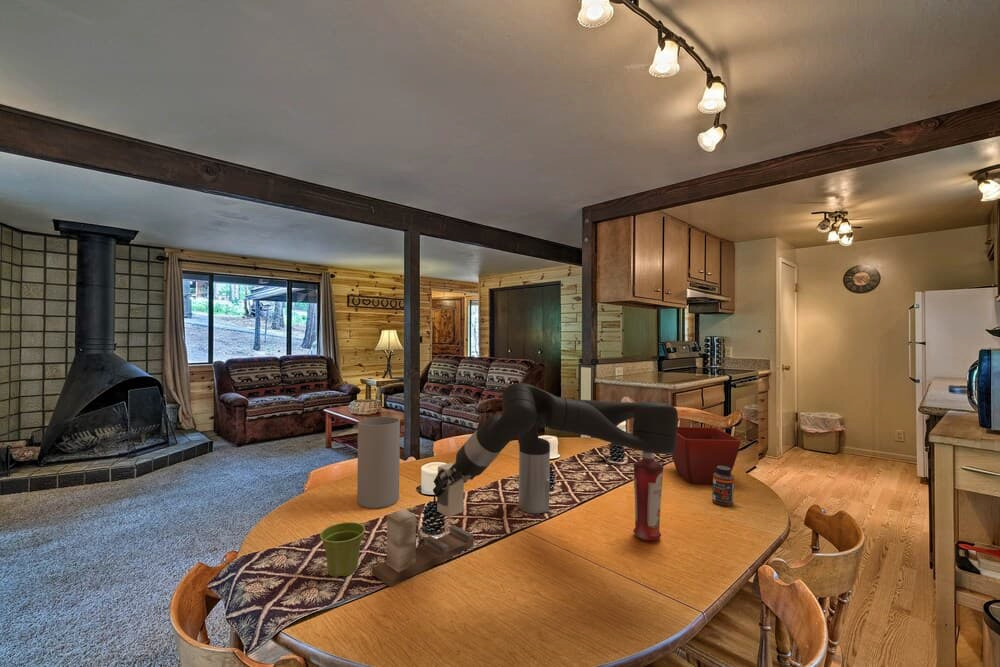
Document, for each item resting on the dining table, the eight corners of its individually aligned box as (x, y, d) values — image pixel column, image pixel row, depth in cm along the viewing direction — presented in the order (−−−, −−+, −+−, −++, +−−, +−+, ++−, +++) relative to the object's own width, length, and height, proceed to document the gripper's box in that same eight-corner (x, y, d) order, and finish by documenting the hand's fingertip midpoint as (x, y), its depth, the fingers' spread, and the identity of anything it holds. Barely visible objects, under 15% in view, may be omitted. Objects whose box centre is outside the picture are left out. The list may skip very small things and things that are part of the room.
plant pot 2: (740, 488, 151) (742, 439, 151) (685, 487, 151) (686, 439, 151) (714, 470, 170) (715, 427, 170) (665, 469, 170) (665, 426, 170)
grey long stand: (454, 536, 114) (455, 488, 113) (473, 545, 109) (474, 495, 109) (372, 574, 96) (372, 517, 96) (390, 587, 91) (391, 527, 91)
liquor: (640, 528, 119) (642, 426, 119) (666, 538, 114) (668, 431, 114) (627, 537, 114) (629, 430, 114) (653, 547, 109) (655, 435, 109)
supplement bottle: (712, 505, 136) (713, 469, 136) (711, 498, 142) (712, 463, 142) (734, 508, 134) (735, 471, 134) (732, 501, 140) (733, 466, 139)
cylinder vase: (407, 501, 136) (407, 421, 136) (371, 513, 127) (371, 427, 127) (384, 490, 145) (385, 415, 144) (349, 501, 135) (350, 420, 135)
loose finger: (451, 506, 110) (451, 462, 110) (463, 511, 107) (463, 466, 107) (435, 512, 107) (435, 467, 107) (447, 517, 104) (447, 471, 104)
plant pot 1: (338, 587, 91) (339, 546, 91) (310, 573, 96) (311, 534, 96) (373, 567, 99) (374, 528, 99) (346, 554, 104) (346, 518, 104)
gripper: (464, 472, 93) (428, 512, 101) (508, 458, 104) (472, 495, 112) (448, 443, 97) (414, 484, 105) (492, 432, 107) (458, 470, 115)
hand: (444, 490), depth 108 cm, fingers closed on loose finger, 5 cm apart
